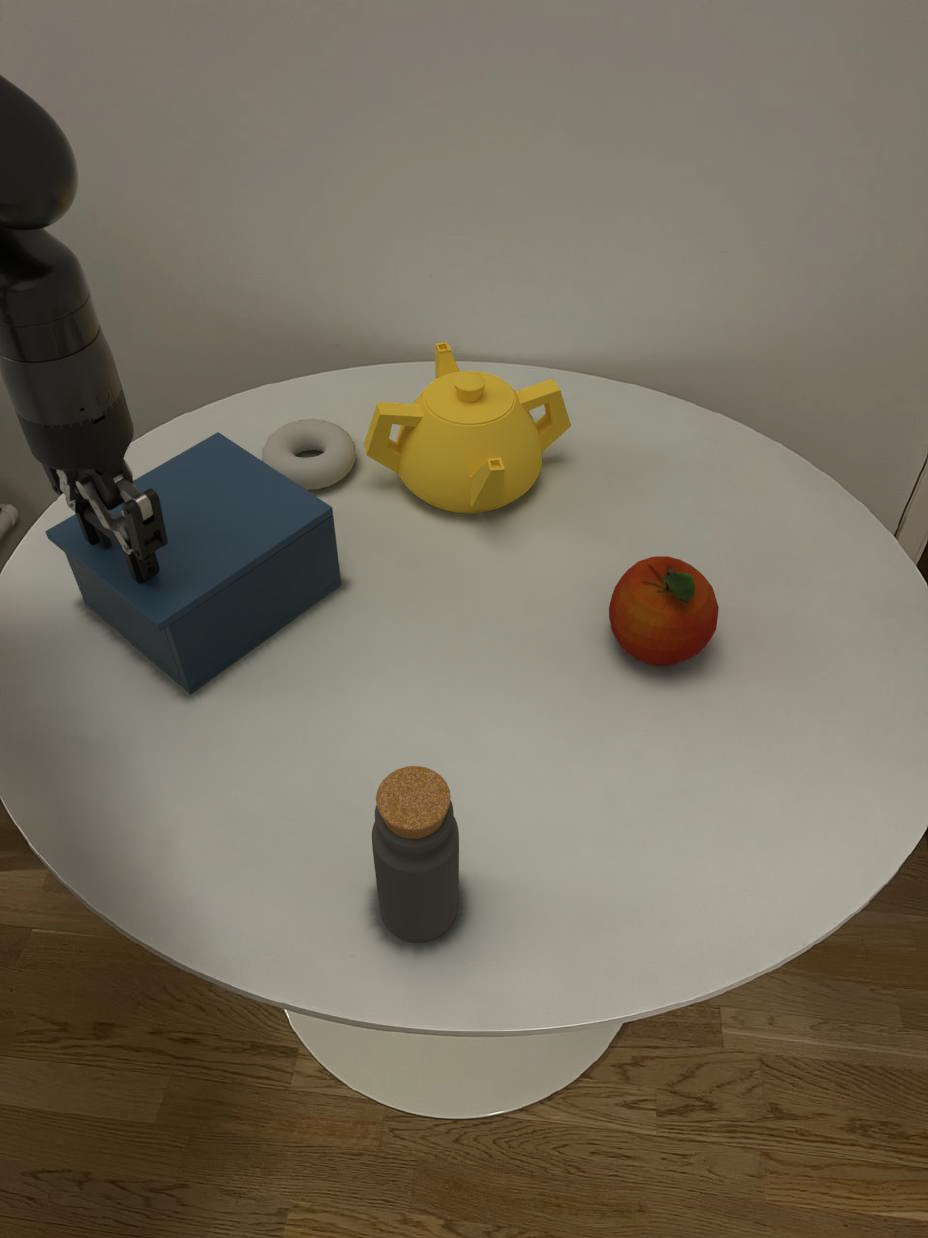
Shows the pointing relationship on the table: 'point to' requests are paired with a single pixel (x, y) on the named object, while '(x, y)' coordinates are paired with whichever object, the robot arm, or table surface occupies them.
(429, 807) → the bottle
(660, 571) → the fruit
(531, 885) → the table surface
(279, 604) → the cool box
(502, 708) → the table surface
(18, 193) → the robot arm
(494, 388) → the teapot
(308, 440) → the donut
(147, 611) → the cool box lid
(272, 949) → the table surface
